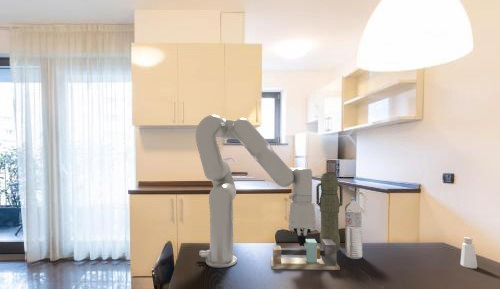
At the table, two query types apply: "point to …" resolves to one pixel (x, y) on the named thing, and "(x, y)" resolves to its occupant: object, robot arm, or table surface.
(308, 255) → the mint green boxy block
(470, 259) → the salt shaker
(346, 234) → the water bottle
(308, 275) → the table surface
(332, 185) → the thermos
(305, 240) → the robot arm
